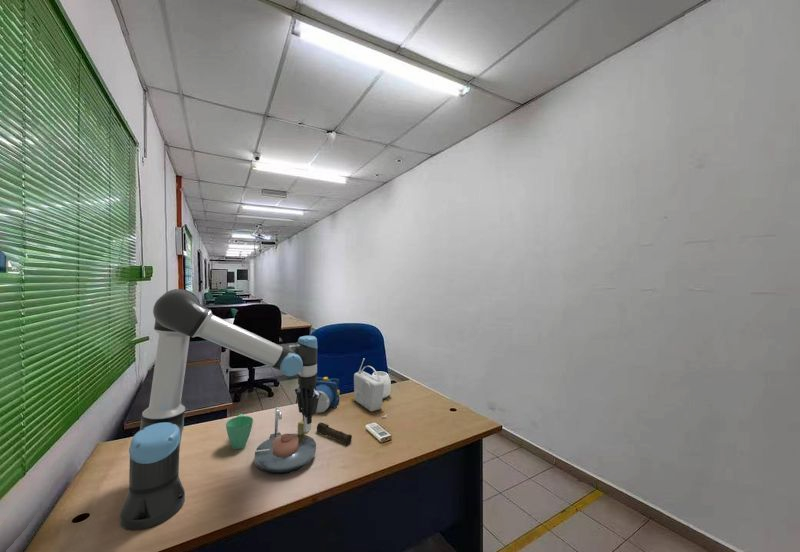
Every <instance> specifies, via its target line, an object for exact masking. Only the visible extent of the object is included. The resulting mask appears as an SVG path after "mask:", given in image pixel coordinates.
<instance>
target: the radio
mask: <svg viewBox="0 0 800 552" xmlns="http://www.w3.org/2000/svg"><path fill="white" fill-rule="evenodd" d="M365 359H366V358H364V357H363V359H362V362H361V365H360V367H359V370H358V371H357V372H355V373H354V374H353V388H354V389H353V391H354V400H355V401H356V402H357V403H358V404H359V405H361V406H362V407H364V408H365V409H367V410H368V411H369V412H375V411H378V410H381V409H382V405H383V399H384V398H383V390H384V383H383V381H381V380H380V378H379V376H378V374H377V372H378V371H377V370H376V369H375V368H374V367H373V366H371V365H366V366H363V363H364V361H365ZM362 366H363V368H362ZM365 368H371V369H372V370H373V372H375V373H376V375H377V377H378V379H377V378H375V377H374V376H372V374H370V373H368V372H366V371H364V370H365ZM382 398H383V399H382Z"/></svg>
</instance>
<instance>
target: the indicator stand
mask: <svg viewBox="0 0 800 552" xmlns="http://www.w3.org/2000/svg"><path fill="white" fill-rule="evenodd" d="M274 414H275V415H274V416H275V417H274V418H275V419H274V433H270V434H269V435H270V437H269V439H270V438H273V437H276V436H279V435H282V434H281V432H280V431H279V421H280V420H282V418H283V414H282V411H280V410H279V406H276V407H275V412H274Z"/></svg>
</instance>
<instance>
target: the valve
mask: <svg viewBox="0 0 800 552" xmlns="http://www.w3.org/2000/svg"><path fill="white" fill-rule="evenodd" d="M315 386H316V391H317V392H318V393H320V394H321V395H320V397H319V400H318V405H317V410H316V413H317V414H318V413H324V412H325V411H326V410H328V408H337V404H339V403H340V393H341V391H340V389H339V386H340V379H339V378H329V377H328V376H324V377H321V376H317V383H316V385H315Z"/></svg>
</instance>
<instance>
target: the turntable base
mask: <svg viewBox="0 0 800 552" xmlns="http://www.w3.org/2000/svg"><path fill="white" fill-rule="evenodd" d="M307 465H308V463H307V464H305V465H303V466H301V467H299V468H296V469H293V470H290V471H284V472H270V471H265V470H262V471H263V472H264V473H267V474H269V475H274V476H283V475H288V474H292V473H295V472H297V471H299V470H301V469H303V468H304V467H305V466H307Z"/></svg>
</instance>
